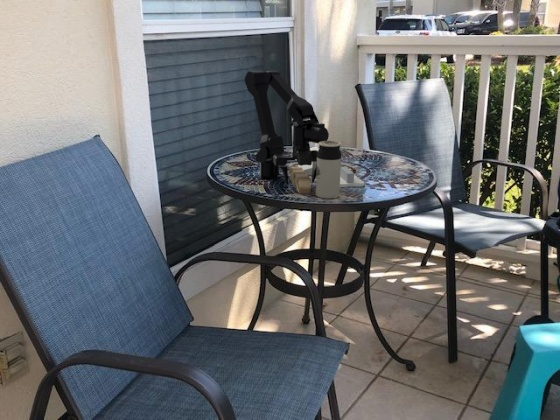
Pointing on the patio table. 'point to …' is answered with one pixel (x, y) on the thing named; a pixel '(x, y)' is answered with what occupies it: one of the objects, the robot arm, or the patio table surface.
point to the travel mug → (328, 169)
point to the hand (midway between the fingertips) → (299, 183)
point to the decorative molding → (309, 167)
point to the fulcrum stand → (349, 178)
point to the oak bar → (300, 180)
